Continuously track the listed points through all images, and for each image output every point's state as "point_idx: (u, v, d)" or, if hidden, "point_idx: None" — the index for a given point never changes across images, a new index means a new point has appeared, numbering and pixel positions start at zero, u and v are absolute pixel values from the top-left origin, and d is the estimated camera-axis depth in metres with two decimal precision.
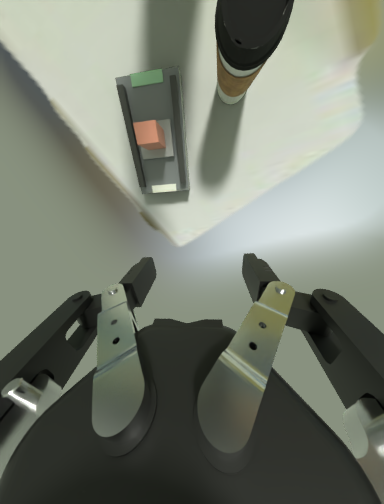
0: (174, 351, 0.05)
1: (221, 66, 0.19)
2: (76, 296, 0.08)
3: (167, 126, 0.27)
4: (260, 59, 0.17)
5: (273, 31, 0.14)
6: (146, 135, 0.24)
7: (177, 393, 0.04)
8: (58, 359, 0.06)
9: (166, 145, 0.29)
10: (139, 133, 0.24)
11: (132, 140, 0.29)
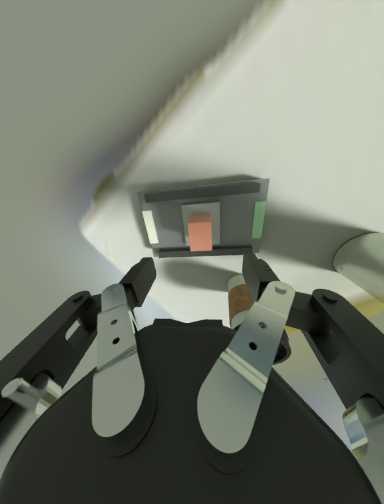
0: (174, 351, 0.05)
1: (240, 309, 0.23)
2: (76, 296, 0.08)
3: (213, 240, 0.24)
4: None
5: None
6: (197, 238, 0.18)
7: (177, 394, 0.04)
8: (58, 359, 0.06)
9: None
10: (199, 229, 0.17)
11: (202, 194, 0.20)
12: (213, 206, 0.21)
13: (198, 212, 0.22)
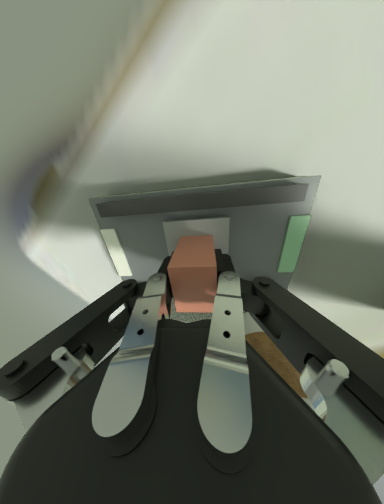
0: (174, 351, 0.05)
1: None
2: (126, 283, 0.08)
3: None
4: None
5: None
6: (189, 293, 0.09)
7: (177, 394, 0.04)
8: (99, 337, 0.07)
9: None
10: (192, 278, 0.09)
11: (197, 203, 0.11)
12: (218, 224, 0.12)
13: (192, 233, 0.13)
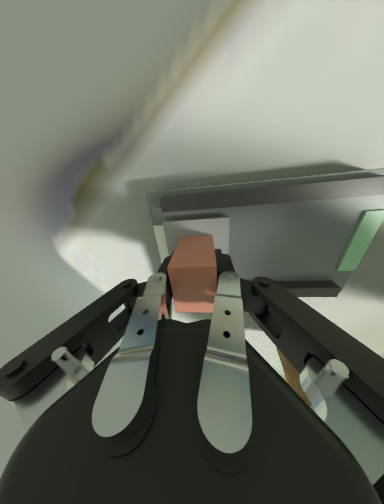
0: (174, 351, 0.05)
1: None
2: (126, 283, 0.08)
3: None
4: None
5: None
6: (189, 293, 0.09)
7: (177, 393, 0.04)
8: (99, 337, 0.07)
9: None
10: (192, 278, 0.09)
11: (272, 197, 0.10)
12: (218, 224, 0.12)
13: (192, 233, 0.13)
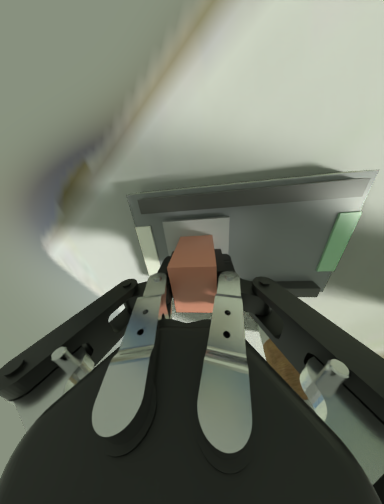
0: (174, 351, 0.05)
1: (303, 393, 0.13)
2: (126, 283, 0.08)
3: None
4: None
5: None
6: (189, 293, 0.09)
7: (177, 394, 0.04)
8: (99, 337, 0.07)
9: None
10: (192, 278, 0.09)
11: (246, 199, 0.11)
12: (218, 224, 0.12)
13: (192, 233, 0.13)
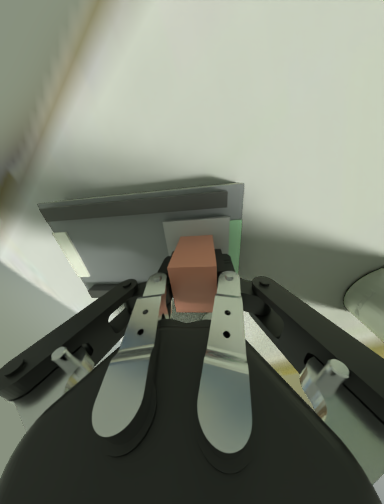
0: (174, 351, 0.05)
1: None
2: (126, 283, 0.08)
3: None
4: None
5: None
6: (189, 292, 0.09)
7: (177, 394, 0.04)
8: (99, 337, 0.07)
9: None
10: (192, 278, 0.09)
11: (131, 209, 0.12)
12: (218, 224, 0.12)
13: (192, 233, 0.13)
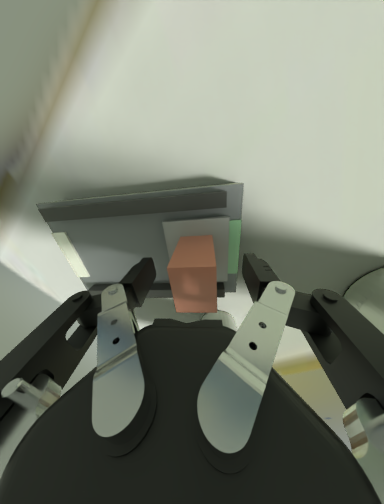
0: (174, 351, 0.05)
1: None
2: (76, 296, 0.08)
3: (217, 276, 0.15)
4: None
5: None
6: (188, 293, 0.09)
7: (177, 393, 0.04)
8: (58, 359, 0.06)
9: None
10: (192, 278, 0.08)
11: (131, 209, 0.12)
12: (217, 224, 0.12)
13: (192, 233, 0.13)
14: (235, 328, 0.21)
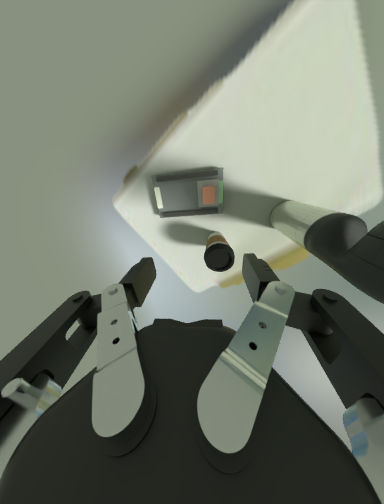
0: (174, 351, 0.05)
1: (210, 243, 0.40)
2: (76, 296, 0.08)
3: (215, 203, 0.40)
4: (205, 262, 0.39)
5: (209, 267, 0.37)
6: (207, 196, 0.34)
7: (177, 394, 0.04)
8: (58, 359, 0.06)
9: None
10: (208, 190, 0.34)
11: (187, 176, 0.37)
12: (215, 181, 0.37)
13: (206, 185, 0.38)
14: (223, 237, 0.46)
